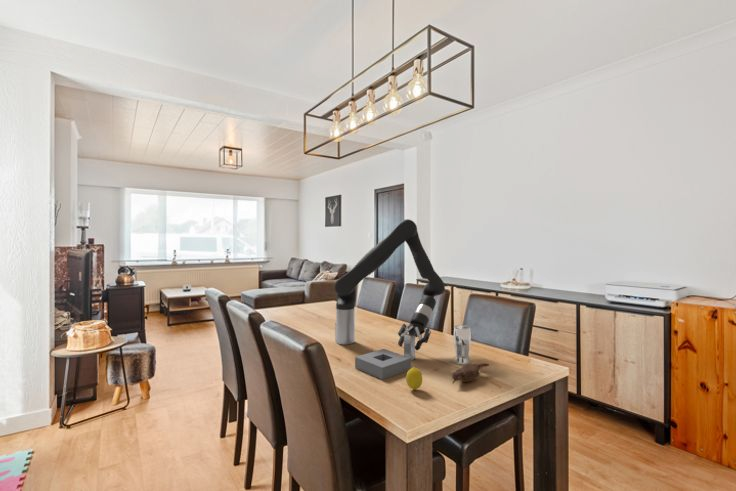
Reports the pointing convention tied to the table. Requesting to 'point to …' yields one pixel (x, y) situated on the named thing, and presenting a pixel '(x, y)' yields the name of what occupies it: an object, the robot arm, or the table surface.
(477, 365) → the bird sculpture
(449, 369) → the table surface
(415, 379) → the lemon
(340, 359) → the table surface
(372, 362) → the well block
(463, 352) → the beer glass
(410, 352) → the steel bar
